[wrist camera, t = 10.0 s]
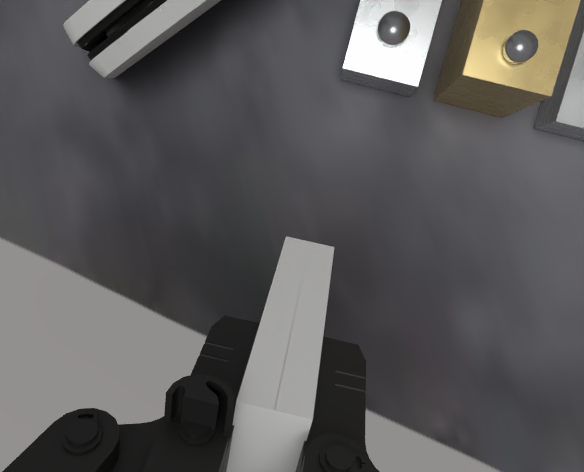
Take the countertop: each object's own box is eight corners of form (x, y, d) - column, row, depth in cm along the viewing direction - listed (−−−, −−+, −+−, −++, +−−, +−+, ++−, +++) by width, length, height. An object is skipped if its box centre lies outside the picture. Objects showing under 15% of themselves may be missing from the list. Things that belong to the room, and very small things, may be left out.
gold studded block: (481, -72, 35) (532, -160, 26) (552, -55, 35) (629, -139, 26) (432, 100, 36) (466, 71, 27) (501, 118, 36) (557, 93, 27)
